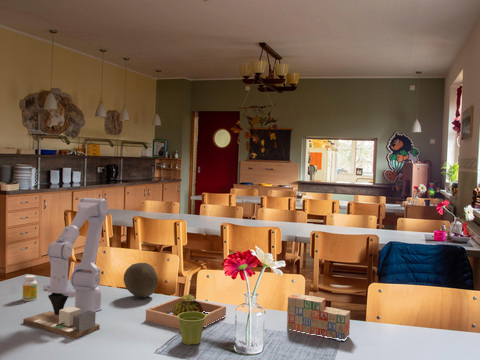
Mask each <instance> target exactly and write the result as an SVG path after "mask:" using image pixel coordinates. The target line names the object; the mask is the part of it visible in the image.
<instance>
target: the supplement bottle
mask: <svg viewBox="0 0 480 360" xmlns="http://www.w3.org/2000/svg"><path fill="white" fill-rule="evenodd" d="M24 280H25V281H23V283H22V301H24V302H25V301H26V302H32V301H36V300H37V298H38V282H37V280H36V275H33V274H30V275H25V277H24Z"/></svg>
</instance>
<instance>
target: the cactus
mask: <svg viewBox="0 0 480 360" xmlns="http://www.w3.org/2000/svg"><path fill="white" fill-rule="evenodd" d="M181 297H182V298H181V299H182V301H180V302H178V303H176V305H175V306H173V307H174V308H173V311H172V313H170V314H171V315H175V316H178V315H179V314H180V313H184V312H201V313H202V312H203V310H202V307H201V304H200V303H198V302H197V301H198V300H197V301H195V300H196V298H195V296H193V295H191V294H185V295H184V294H183V295H182V296H181ZM204 314H205V315H206V313H204Z"/></svg>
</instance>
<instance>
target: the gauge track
mask: <svg viewBox="0 0 480 360" xmlns="http://www.w3.org/2000/svg"><path fill="white" fill-rule="evenodd" d="M96 312H97V311H96ZM96 312H94V311H90V310H89V311H86V312H83V313H80V314H77V315H74V316H73V325H72V326H65V325H59V326H56V325H58V324H59V315H55V313H54V311H49V310H48V311H45V312H42V313H38V314H36V315H35V314H34V315H32V316H29V317H24V318H23V319H22V320H23V321H22V324H25V325H28V326H32V327H35V328H38V329H42V330H45V331H48V332H51V333H55V334H58V335H61V336H65V337H68V338H71V339H77V338H79V337H82V336H86V335H88V334H91V333H93V332H95V331H98V330H100V324H97V323H96Z"/></svg>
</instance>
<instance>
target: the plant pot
mask: <svg viewBox="0 0 480 360" xmlns="http://www.w3.org/2000/svg"><path fill="white" fill-rule="evenodd" d="M205 314H206V313H201V312H184V313H180V314H179V315H178V316H177V317H178V319H179V322H180V328H181V329H180V336H181V342H182V344H184V345H187V346H191V345H195V344H196V345H199V344H200V343H201V341H202V334H203V329H204V328H203V323H204V321H205V318H206V315H205Z"/></svg>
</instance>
